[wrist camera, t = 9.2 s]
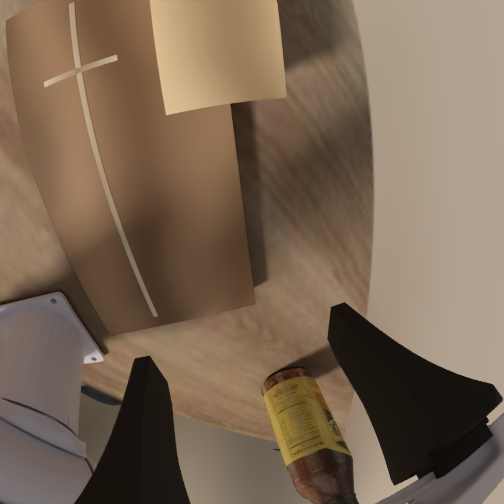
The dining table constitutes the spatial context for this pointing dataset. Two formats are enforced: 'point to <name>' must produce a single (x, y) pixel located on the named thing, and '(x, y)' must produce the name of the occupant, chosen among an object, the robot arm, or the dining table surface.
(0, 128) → the dining table surface
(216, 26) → the light wooden block
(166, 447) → the robot arm
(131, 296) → the walnut board
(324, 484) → the sauce bottle
